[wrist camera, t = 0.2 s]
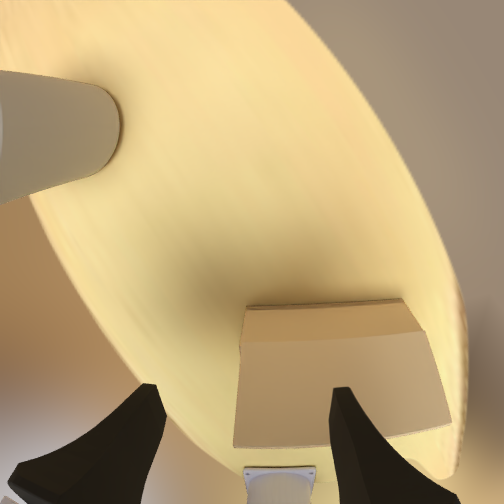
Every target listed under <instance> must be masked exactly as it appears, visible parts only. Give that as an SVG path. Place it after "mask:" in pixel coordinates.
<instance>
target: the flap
mask: <svg viewBox="0 0 504 504" xmlns="http://www.w3.org/2000/svg"><path fill="white" fill-rule="evenodd" d="M336 387H350V388H351V390H352V392H353V394H354V396H355V397H356V399H357V401H358V402H359V404H360V405H361V407H362V409H363V410H364V412H365V413H366V415H367V416H368V417H369V419H370V420H371V422H372V423H373V424H374V426H375V427H376V428H377V430H378V431H379V432H380V433H381V435H382V436H383V437H384V438H385V439H389V438H395V437H401V436H406V435H411V434H416V433H420V432H425V431H429V430H433V429H437V428H441V427H445V426H449V425H450V424H451V423H452V420H451V415H450V411H449V408H448V404H447V400H446V396H445V393H444V389H443V385H442V382H441V379H440V375H439V372H438V369H437V365H436V362H435V359H434V356H433V353H432V350H431V347H430V344H429V341H428V338H427V335H426V332H425V331H417V332H409V333H400V334H391V335H381V336H370V337H359V338H346V339H330V340H312V341H288V342H242V346H241V358H240V369H239V381H238V392H237V404H236V415H235V427H234V438H233V447H234V448H254V449H283V448H310V447H325V446H331V444H330V434H329V413H330V407H331V400H332V393H333V388H336Z"/></svg>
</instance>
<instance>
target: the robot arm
mask: <svg viewBox="0 0 504 504" xmlns="http://www.w3.org/2000/svg"><path fill="white" fill-rule="evenodd" d="M166 418H167V415H166V412H165V409H164V407H163V404H162V401H161V398H160V395H159V392H158V389H157V386H156V385H155V384H146V383H143V384H142V385H141V386H140V387H138V389H136V390H135V391H134V392H133V393H132V394H131V395H130V396H129V397H128V398H127V399H126V400H125V401H124V402H123V403H122V404H121V405H120V406H119V407H118V408H117V409H115V410H114V411H113V412H112V413H111V414H110V415H109V416H107V417H106V418H105V419H104V420H103V421H101V422H100V423H99V424H98V425H97V426H96V427H94V428H93V429H91V430H90V431H88V432H87V433H86V434H84V435H83V436H81V437H79V438H78V439H76V440H75V441H73V442H71V443H69V444H67V445H66V446H64V447H62V448H60V449H58V450H56V451H53V452H51V453H49V454H46V455H44V456H41V457H38V458H35V459H32V460H28V461H25V462H21V463H19V464H18V465H17V467H16V468H15V470H14V472H13V473H12V475H11V476H10V478H9V480H8V485H9V487H10V488H11V489H12V490H13V491H14V492H15V493H16V494H18V496H19V497H20V498H22V499H23V500H24V501H25V502H26V503H27V504H141V499H142V494H143V490H144V485H145V481H146V479H147V475H148V473H149V470H150V467H151V465H152V462H153V459H154V457H155V454H156V452H157V449H158V446H159V444H160V441H161V438H162V435H163V431H164V427H165V422H166ZM329 434H330V444H331V449H332V454H333V459H334V465H335V470H336V475H337V481H338V486H339V497H340V504H461V503H460V501H459V499H458V497H457V495H456V494H454V493H452V492H450V491H449V490H447V489H445V488H443V487H441V486H440V485H438V484H436V483H435V482H433V481H432V480H430V479H429V478H427V477H426V476H425V475H423V474H422V473H421V472H419V471H418V470H417V469H416V468H414V467H413V466H412V465H411V464H409V463H408V462H407V461H406V460H405V459H404V458H403V457H402V456H401V455H400V454H399V453H398V452H397V451H396V450H395V449H394V448H393V447H392V446H391V445H390V444H389V443H388V442H387V441H386V439H385V438H384V437H383V436H382V435H381V433H380V432H379V431H378V430H377V428H376V427H375V426H374V424H373V423H372V422H371V420H370V419H369V417H368V416H367V415H366V413H365V412H364V410H363V409H362V407H361V405H360V404H359V402H358V401H357V399H356V397H355V396H354V394H353V392H352V390H351V388H350V387H336V388H333V393H332V400H331V407H330V413H329ZM243 474H244V479H245V484H246V489H247V494H248V498H247V504H311V494H312V489H313V485H314V480H315V474H316V468H315V467H298V468H244V469H243ZM0 504H18V503H17V502H15V501H13V500H12V499H10V498H8V497H7V496H4V498H3V499H2V501H1V503H0Z"/></svg>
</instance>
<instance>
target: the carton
mask: <svg viewBox="0 0 504 504" xmlns="http://www.w3.org/2000/svg"><path fill="white" fill-rule="evenodd" d="M417 331H423V329H422V328H421V326H420V325H419V323H418V322H417V320H416V319H415V317H414V316H413V314H412V313H411V311H410V310H409V308H408V307H407V305H406V304H405V302H404V301H403V299H402V298H401V299H389V300H375V301H361V302H344V303H326V304H303V305H275V306H246V311H245V317H244V322H243V328H242V333H241V339H240V344H239V349H240V357H241V346H242V342H288V341H312V340H330V339H346V338H359V337H370V336H381V335H391V334H400V333H409V332H417Z"/></svg>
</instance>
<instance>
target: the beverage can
mask: <svg viewBox="0 0 504 504" xmlns="http://www.w3.org/2000/svg"><path fill="white" fill-rule="evenodd" d="M119 130H120V121H119V114H118V110H117V107H116V105H115V103H114V101H113V99H112V98H111V96H110V95H109V94H108V93H107V92H106V91H105V90H103V89H102V88H100V87H98V86H95V85H91V84H86V83H81V82H76V81H71V80H66V79H60V78H54V77H48V76H42V75H35V74H28V73H20V72H12V71H3V70H0V205H1V204H4V203H7V202H9V201H12V200H15V199H18V198H21V197H23V196H27V195H30V194H33V193H36V192H39V191H42V190H45V189H48V188H51V187H54V186H58V185H61V184H64V183H68V182H71V181H75V180H78V179H82V178H85V177H89V176H91V175H93V174H95V173H96V172H98V171H99V170H100V169H101V168H102V167H103V166H104V165H105V164H106V163H107V162H108V161H109V159H110V158H111V156H112V154H113V152H114V150H115V148H116V145H117V142H118V137H119Z"/></svg>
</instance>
